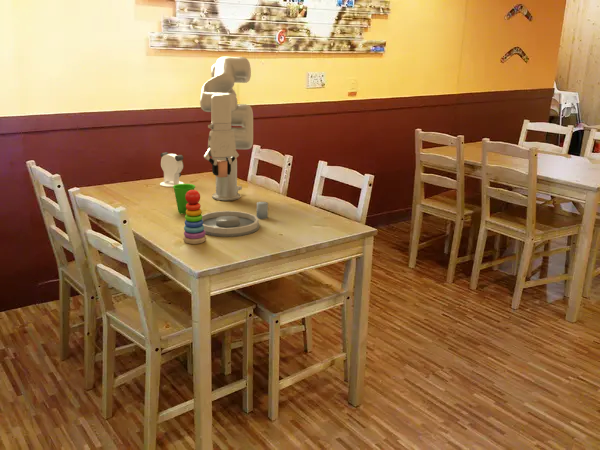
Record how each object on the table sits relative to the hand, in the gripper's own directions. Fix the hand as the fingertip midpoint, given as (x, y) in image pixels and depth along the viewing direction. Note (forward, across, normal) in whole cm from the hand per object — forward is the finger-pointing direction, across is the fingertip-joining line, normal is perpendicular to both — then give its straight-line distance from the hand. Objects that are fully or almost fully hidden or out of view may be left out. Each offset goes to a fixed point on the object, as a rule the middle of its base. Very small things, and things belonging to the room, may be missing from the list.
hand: (221, 174), depth 227 cm
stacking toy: (+20, -19, -19) cm, 34 cm away
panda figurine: (+17, +2, +64) cm, 66 cm away
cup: (+18, -9, +16) cm, 26 cm away
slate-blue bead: (+18, +16, -4) cm, 25 cm away
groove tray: (+19, -2, -9) cm, 21 cm away
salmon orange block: (+1, 0, 0) cm, 1 cm away
